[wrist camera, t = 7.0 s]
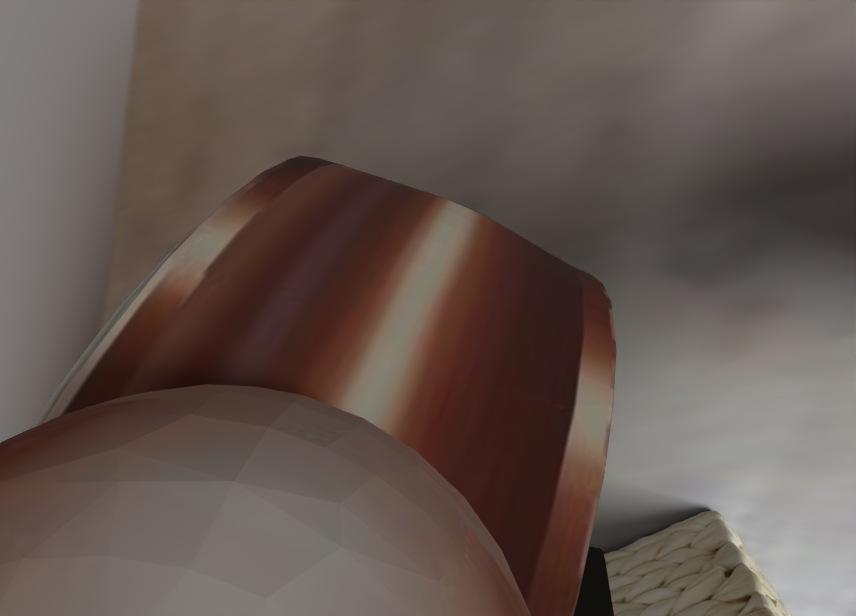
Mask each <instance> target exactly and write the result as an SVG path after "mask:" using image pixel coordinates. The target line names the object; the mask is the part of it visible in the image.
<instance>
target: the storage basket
mask: <svg viewBox="0 0 856 616" xmlns="http://www.w3.org/2000/svg"><path fill="white" fill-rule="evenodd" d="M604 557H605V561H606V568H607V574H608V580H609V586H610V593H611V599H612V605H613V612H614V616H792V615H791V614H790V613H789V611H788V610H787V608H786V607H785V606H784V604H783V603H782V602H781V601H780V600H779V596H778V594H777V593H776V591H775V590H774V588H773V587H772V585H771V584H770V583H769V581H768V580H767V579H766V578H765V577H764V575H763V574H762V573H761V571H760V569H759V567H758V566H757V564H756V562H755V561H754V560H753V558H752V557H751V556H750V554H749V553H748V552H747V551H746V550H745V548H744V547H743V545H742V542H741V540H740V538H739V537H738V535H737V534H736V532H735V531H734V530H733V529H732V528H731V527H730V526H729V525H728V524H727V523H726V522H725V521H724V518H723V516H722V515H721V514H719V513H718V512H716V511H706V512H701V513H700V514H698V515H696V516H694V517H691V518H689V519H686V520H684V521H682V522H677V523H675V524H672V525H670V527H668V528H666V529H664V530H661V531H659V532H657V533H655V534H653V535H651V536H648V537H643V538H640V539H638V540H637V541H636V542H634V543H632V544H630V545H628V546H626V547H624V548H621V549H619V550H617V551H611V552H609V553H606V554H604Z"/></svg>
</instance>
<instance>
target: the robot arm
mask: <svg viewBox="0 0 856 616" xmlns="http://www.w3.org/2000/svg"><path fill="white" fill-rule="evenodd" d="M573 616H614V612H613V605H612V599H611V593H610V586H609V580H608V574H607V568H606V561H605V557H604V553H603V551H602V550H601V549H599V548H595V547H590V546H589V549H588V553H587V558H586V563H585V568H584V572H583V577H582V582H581V586H580V591H579V596H578V600H577V604H576V608H575V611H574V614H573Z"/></svg>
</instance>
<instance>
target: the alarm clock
mask: <svg viewBox="0 0 856 616" xmlns="http://www.w3.org/2000/svg"><path fill="white" fill-rule="evenodd" d="M615 366H616V341H615V332H614V323H613V314H612V305H611V301H610V299H609V297H608V294H607V292H606V290H605V288H604V286H603V284H602V283H601V282H599V281H598V280H597V279H596V278H595V277H594V276H592V275H590V274H588V273H586V272H583V271H581V270H579V269H577V268H574V267H572V266H570V265H568V264H567V263H565V262H563V261H562V260H560V259H558V258H556V257H555V256H553V255H551V254H550V253H548V252H546V251H545V250H543V249H541V248H540V247H538V246H536V245H534V244H533V243H531V242H529V241H528V240H526V239H524V238H523V237H521V236H519V235H517V234H516V233H514V232H512V231H511V230H509V229H507V228H506V227H504V226H502V225H500V224H499V223H497V222H495V221H494V220H492V219H490V218H489V217H487V216H484V215H482V214H480V213H477V212H475V211H473V210H471V209H468V208H466V207H464V206H461V205H459V204H457V203H454V202H452V201H450V200H447V199H445V198H442V197H439V196H436V195H433V194H430V193H427V192H424V191H421V190H417V189H414V188H411V187H408V186H405V185H402V184H399V183H396V182H393V181H390V180H386V179H383V178H380V177H377V176H374V175H371V174H368V173H365V172H362V171H359V170H355V169H352V168H349V167H346V166H343V165H340V164H336V163H333V162H329V161H326V160H322V159H319V158H312V157H305V156H299V157H295V158H291V159H288V160H286V161H284V162H282V163H280V164H278V165H276V166H274V167H272V168H270V169H268V170H266V171H264V172H262V173H261V174H259V175H258V176H257V177H256V178H254V179H253V180H252V181H250V182H249V183H248V184H246V185H245V186H244V187H242V188H241V189H240V190H238V191H237V192H236V193H234V194H233V195H232V196H230V197H229V198H228V199H226V200H225V201H224V202H223V203H222V204H221V205H220V206H219V207H218V208H217V209H216V210H215V211H214V212H213V213H212V214H211V215H210V216H209V217H208V218H207V219H206V220H205V221H204V222H203V223H202V224H201V225H199V226H198V227H197V228H196V229H194V230H193V231H192V232H191V233H190V234H188V235H187V236H186V237H185V238H184V239H182V240H181V241H180V242H179V243H178V244H177V245H176V246H175V247H174V248H173V249H172V250H171V251H170V252H169V253H168V254H167V255H166V256H165V257H164V258H163V260H162V261H161V262H160V263H159V264H158V265H157V266H156V267H155V268H154V269H153V270H152V271H151V272H150V274H149V275H148V276H147V277H146V278H145V279H144V280H143V281H142V282H141V283H140V284H139V285H138V286H137V287H136V289H135V290H134V291H133V292H132V293H131V294H130V295H129V296H128V297H127V298H126V299H125V300H124V301H123V303H122V304H121V305H120V306H119V307H118V309H117V310H116V311H115V313H114V314H113V315H112V316H111V318H110V319H109V320H108V322H107V323H106V324H105V326H104V327H103V328H102V329H101V331H100V332H99V333H98V335H97V336H96V337H95V339H94V340H93V341H92V343H91V344H90V345H89V347H88V348H87V349H86V350H85V352H84V353H83V354H82V356H81V357H80V358H79V360H78V361H77V362H76V363H75V365H74V366H73V367H72V369H71V370H70V371H69V373H68V374H67V375H66V377H65V378H64V379H63V380H62V382H61V383H60V384H59V386H58V387H57V388H56V390H55V391H54V393H53V394H52V396H51V397H50V399H49V400H48V402H47V404H46V405H45V407H44V408H43V410H42V411H41V413H40V414H39V416H38V418H37V419H36V421H35V422H34V424H33V425H32V427H31V428H30V429H29V430H27V431H25V432H23V433H21V434H18V435H16V436H14V437H12V438H10V439H7V440H5V441H3V442H1V443H0V616H573V614H574V611H575V608H576V604H577V600H578V596H579V591H580V586H581V582H582V577H583V572H584V568H585V563H586V558H587V553H588V549H589V544H590V539H591V535H592V530H593V525H594V521H595V516H596V511H597V507H598V502H599V497H600V492H601V488H602V483H603V478H604V473H605V465H606V458H607V450H608V442H609V435H610V427H611V419H612V412H613V404H614V385H615Z"/></svg>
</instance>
